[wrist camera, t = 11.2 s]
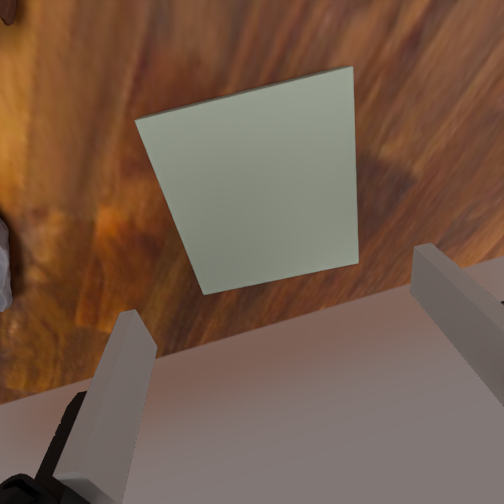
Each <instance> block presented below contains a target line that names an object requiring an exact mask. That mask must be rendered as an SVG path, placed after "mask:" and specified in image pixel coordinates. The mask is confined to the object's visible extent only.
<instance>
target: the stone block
mask: <svg viewBox="0 0 504 504" xmlns="http://www.w3.org/2000/svg"><path fill="white" fill-rule="evenodd" d="M8 236H9V230H8V228H7V226H6V224H5V223H4V221H2V220H1V219H0V312H3V311H4V310H6V309H7V308H9V307H10V306H11V305H12V302H13V298H12V291H11V287H10V280H11V272H10V268H9V264H10V255H9V243H8Z"/></svg>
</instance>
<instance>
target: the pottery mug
mask: <svg viewBox="0 0 504 504" xmlns="http://www.w3.org/2000/svg"><path fill="white" fill-rule="evenodd" d="M16 8H17V0H0V18H1V20H2V21H3V22H4V24H5V25H7V26H10V25H13V23H14V21H15V16H16Z"/></svg>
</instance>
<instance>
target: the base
mask: <svg viewBox="0 0 504 504" xmlns="http://www.w3.org/2000/svg"><path fill="white" fill-rule="evenodd" d="M135 123H136V126H137V128H138V131H139V133H140V136H141V138H142V141H143V143H144V146H145V149H146V151H147V154H148V156H149V159H150V161H151V164H152V166H153V169H154V171H155V174H156V176H157V179H158V181H159V184H160V186H161V189H162V191H163V194H164V196H165V199H166V201H167V204H168V207H169V209H170V212H171V214H172V217H173V219H174V222H175V224H176V227H177V229H178V232H179V234H180V237H181V239H182V242H183V244H184V247H185V249H186V252H187V254H188V257H189V259H190V262H191V264H192V267H193V270H194V272H195V275H196V277H197V280H198V282H199V285H200V287H201V290H202V292H203V295H207V294H212V293H217V292H221V291H226V290H231V289H236V288H241V287H245V286H250V285H255V284H260V283H265V282H269V281H274V280H279V279H284V278H289V277H293V276H298V275H303V274H308V273H313V272H317V271H322V270H327V269H332V268H337V267H342V266H346V265H351V264H356V263H359V256H358V221H357V187H356V153H355V118H354V84H353V66H341V67H337V68H333V69H329V70H325V71H321V72H317V73H313V74H309V75H305V76H301V77H297V78H293V79H289V80H285V81H281V82H277V83H273V84H269V85H265V86H261V87H257V88H253V89H249V90H245V91H241V92H237V93H233V94H229V95H225V96H221V97H217V98H213V99H209V100H205V101H201V102H197V103H193V104H189V105H185V106H181V107H177V108H173V109H169V110H165V111H161V112H157V113H153V114H149V115H145V116H142V117H140V118H138V119H136V120H135Z"/></svg>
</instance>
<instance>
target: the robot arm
mask: <svg viewBox="0 0 504 504" xmlns="http://www.w3.org/2000/svg"><path fill="white" fill-rule="evenodd" d="M410 293H411V294H412V296H413V297H414V298H415V299H416V300H417V302H418V303H419V304H420V305H421V307H422V308H423V309H424V310H425V311H426V313H427V314H428V315H429V316H430V317H431V319H432V320H433V321H434V322H435V324H436V325H437V326H438V327H439V328H440V330H441V331H442V332H443V333H444V334H445V335H446V337H447V338H448V339H449V341H450V342H451V343H452V344H453V345H454V347H455V348H456V349H457V350H458V352H459V353H460V354H461V355H462V356H463V358H464V359H465V360H466V361H467V362H468V364H469V365H470V366H471V367H472V369H473V370H474V371H475V372H476V373H477V374H478V376H479V377H480V378H481V380H482V381H483V382H484V383H485V384H486V386H487V387H488V388H489V389H490V390H491V392H492V393H493V394H494V395H495V397H496V398H497V399H498V400H499V401H500V403H501V404H502V405H503V406H504V301H502V302H500V301H498V300H497V299H496V298H495V297H494V296H493V295H491V294H490V293H489V292H488V291H487V290H485V289H484V288H483V287H482V286H481V285H480V284H479V283H477V282H476V281H475V280H474V279H473V278H472V277H470V276H469V275H468V274H467V273H466V272H465V271H463V270H462V269H461V268H460V267H459V266H458V265H456V264H455V263H454V262H453V261H452V260H451V259H449V258H448V257H447V256H446V255H445V254H444V253H442V252H441V251H440V250H439V249H438V248H437V247H435V246H434V245H433V244H432V243H428V244H424V245H419V246H415V247H414V253H413V264H412V275H411V287H410ZM157 348H158V347H157V345H156V344H155V342H154V340H153V339H152V337H151V335H150V333H149V332H148V330H147V328H146V327H145V325H144V323H143V321H142V320H141V318H140V316H139V314H138V313H137V311H136V309H134V310H129V311H125V312H120V313H119V316H118V318H117V321H116V323H115V325H114V328H113V330H112V333H111V335H110V338H109V340H108V342H107V345H106V347H105V350H104V352H103V355H102V357H101V359H100V362H99V364H98V367H97V369H96V372H95V374H94V376H93V379H92V381H91V384H90V386H89V389H88V391H84V392H79V393H77V395H76V396H75V397H74V398H73V400H72V401H71V402H70V404H69V405H68V406H67V408H66V410H65V413H64V415H63V417H62V419H61V424H59V426H58V428H57V430H56V432H55V436H54V437H53V439H52V441H51V443H50V446H49V448H48V450H47V452H46V454H45V457H44V459H43V461H42V463H41V466H40V468H39V470H38V472H37V474H36V477H35V479H33V478H31V477H30V476H28V475H26V474H21V473H20V474H17V475H14V476H11V477H10V478H8V479H7V480H5V481H4V482H2V483H1V484H0V504H122V500H123V497H124V492H125V487H126V484H127V479H128V474H129V470H130V466H131V461H132V457H133V452H134V448H135V444H136V440H137V435H138V431H139V426H140V422H141V418H142V413H143V409H144V405H145V400H146V396H147V391H148V387H149V383H150V378H151V373H152V370H153V365H154V361H155V356H156V352H157Z"/></svg>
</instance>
